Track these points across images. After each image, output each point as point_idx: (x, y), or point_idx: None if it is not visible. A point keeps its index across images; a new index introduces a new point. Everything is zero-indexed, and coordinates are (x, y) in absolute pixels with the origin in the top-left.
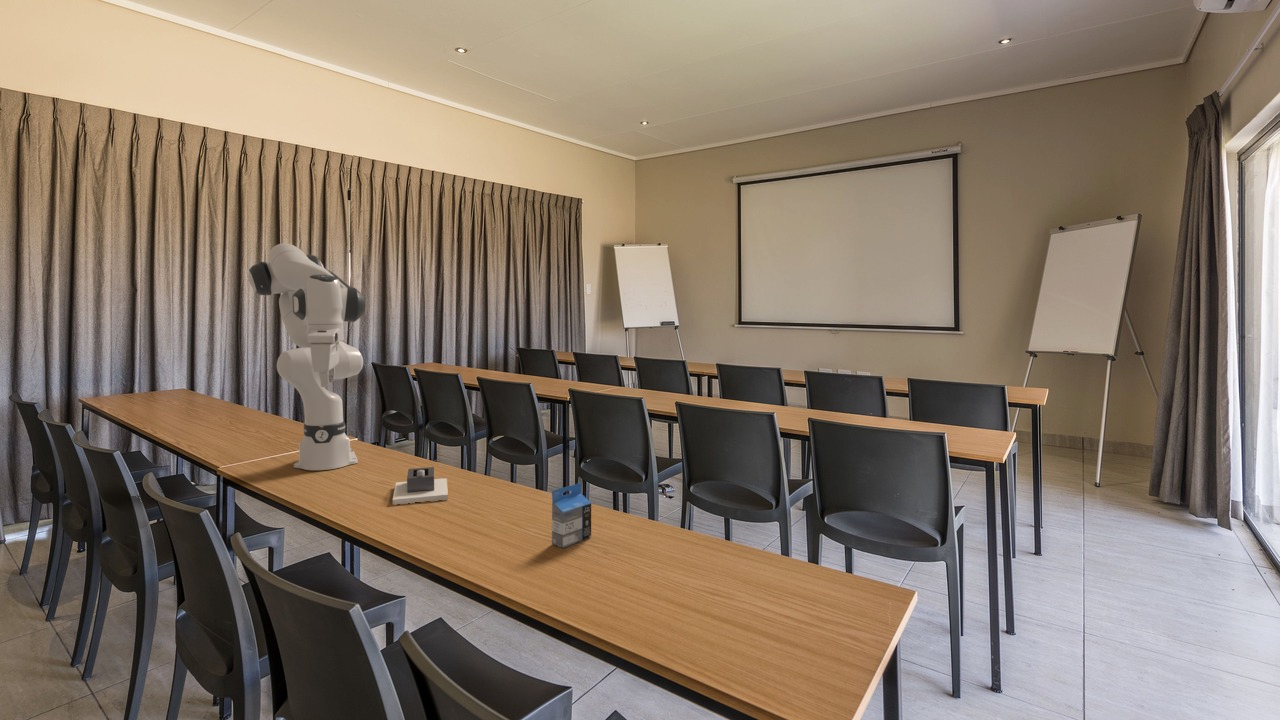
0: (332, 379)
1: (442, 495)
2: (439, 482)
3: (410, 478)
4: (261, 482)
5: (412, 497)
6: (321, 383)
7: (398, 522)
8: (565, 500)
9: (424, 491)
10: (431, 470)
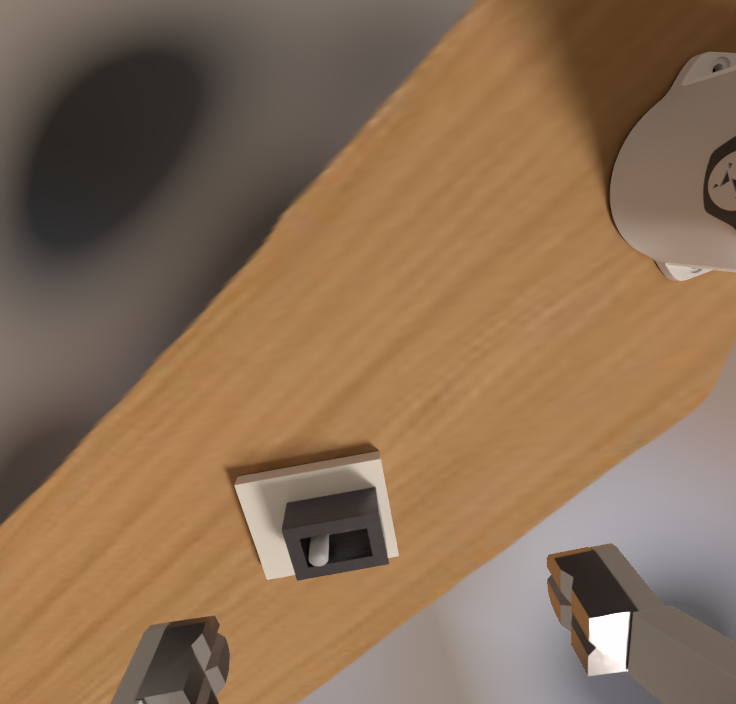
0: (570, 622)
1: (264, 570)
2: None
3: (283, 536)
4: (518, 4)
5: (248, 520)
6: (130, 669)
7: (123, 512)
8: None
9: None
10: (353, 565)
